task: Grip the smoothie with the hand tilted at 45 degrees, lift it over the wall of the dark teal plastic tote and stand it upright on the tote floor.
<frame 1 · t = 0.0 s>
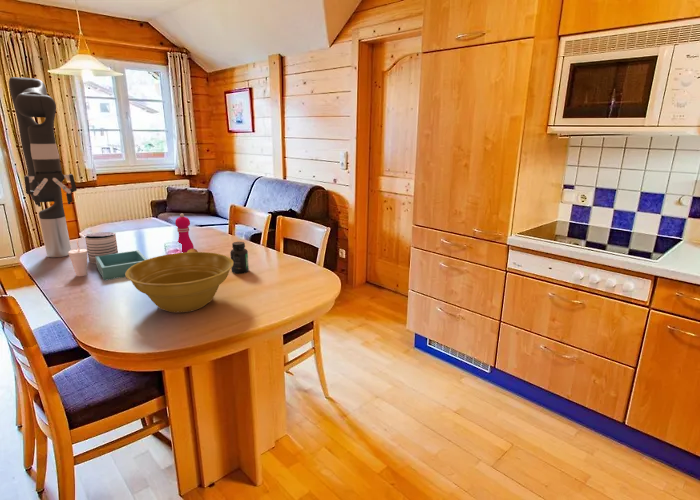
hand: (54, 205, 144), 29 cm above the table, tool pointing down, fingers open, 8 cm apart
smoothie: (81, 275, 162), on the table
can: (104, 260, 181), on the table
supplement bottle: (240, 271, 169), on the table
bread roll: (193, 271, 169), on the table
pepper mill: (186, 257, 186), on the table
tote: (123, 270, 168), on the table
planter bowl: (185, 304, 137), on the table
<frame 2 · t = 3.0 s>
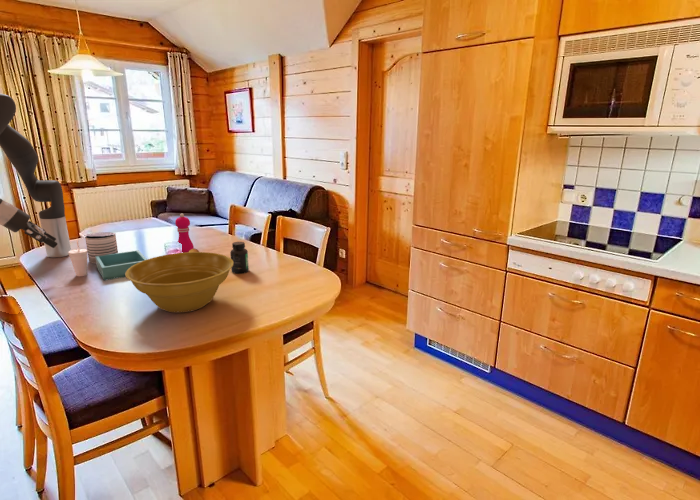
hand: (55, 243, 154), 14 cm above the table, tool tilted 45°, fingers open, 8 cm apart
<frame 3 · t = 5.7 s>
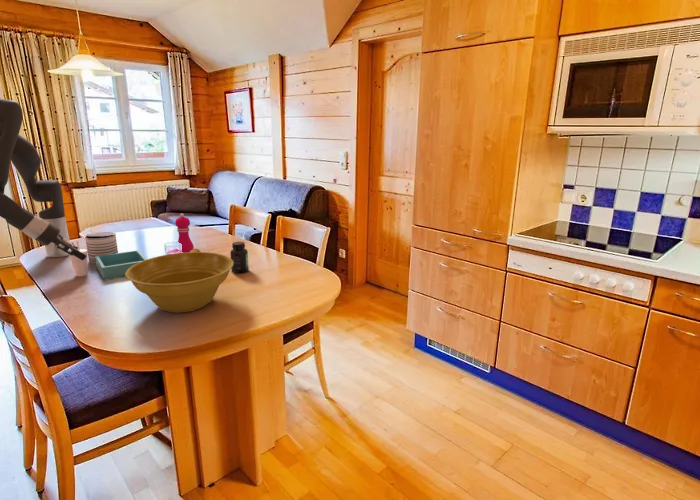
hand: (83, 256, 161), 7 cm above the table, tool tilted 45°, fingers closed on smoothie, 6 cm apart
smoothie: (81, 275, 162), on the table, touching gripper
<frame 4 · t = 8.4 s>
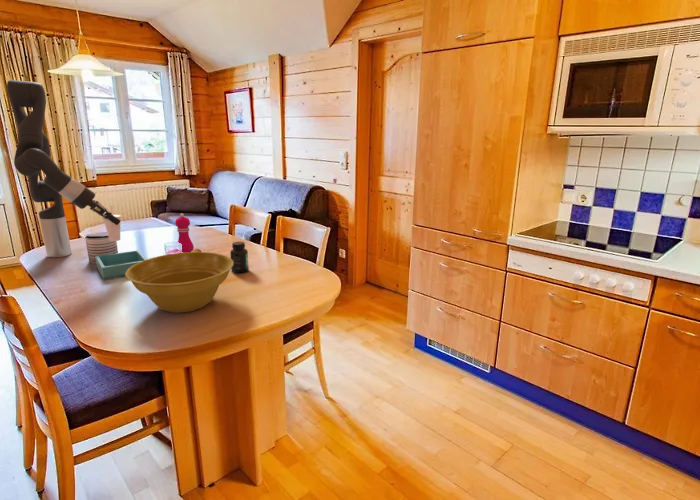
hand: (117, 221, 162), 20 cm above the table, tool tilted 45°, fingers closed on smoothie, 6 cm apart
smoothie: (115, 240, 163), point 13 cm above the table, touching gripper
when the fingers open (10 cm above the table, at t = 11.5 s): smoothie drops 1 cm, resting on tote.
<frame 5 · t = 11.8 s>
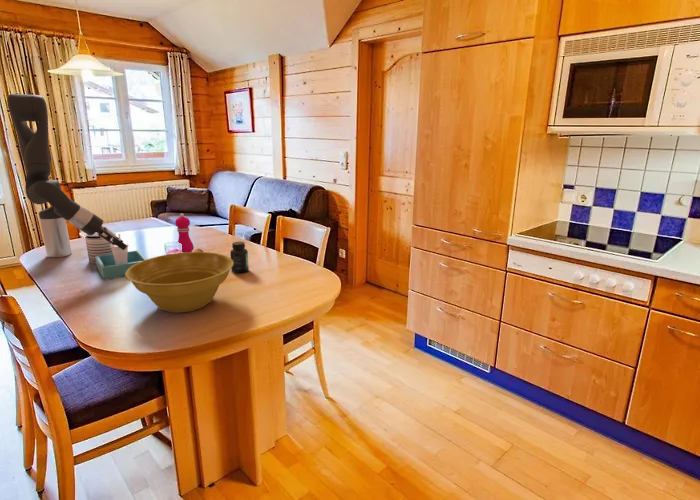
hand: (123, 245, 166), 10 cm above the table, tool tilted 45°, fingers open, 8 cm apart
smoothie: (122, 268, 168), point 1 cm above the table, touching tote
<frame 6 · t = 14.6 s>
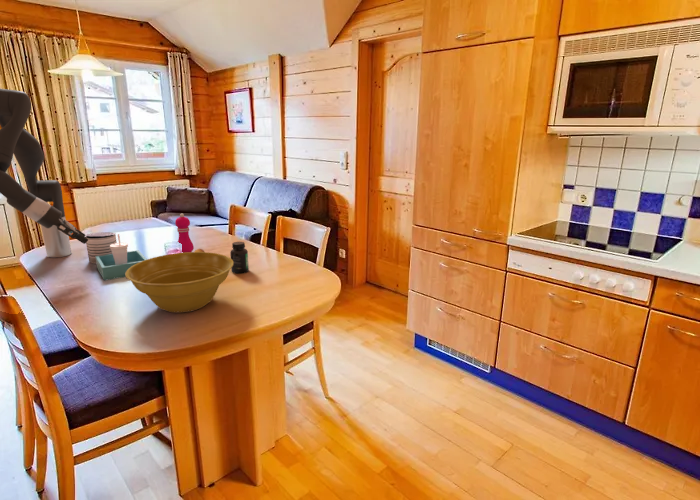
hand: (85, 239, 157), 15 cm above the table, tool tilted 45°, fingers open, 8 cm apart
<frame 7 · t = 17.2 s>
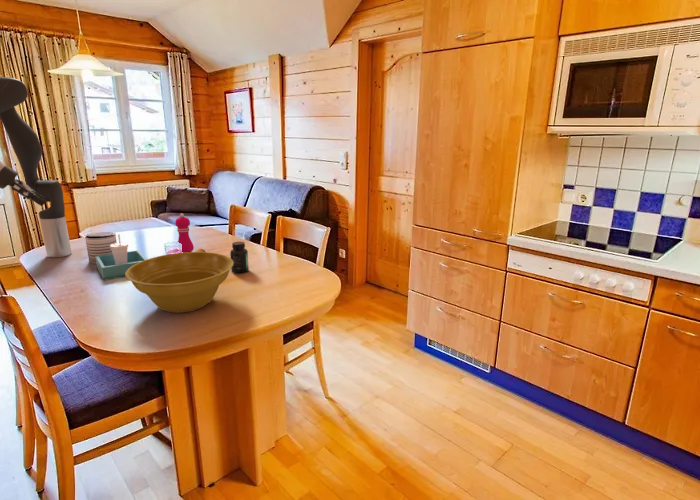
hand: (43, 202, 152), 29 cm above the table, tool tilted 45°, fingers open, 8 cm apart
at the end: smoothie inside the target area on the tote (0.4 cm from its centre), point 0.8 cm above the tote's base; smoothie tilted 0°; the gripper is holding nothing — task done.
